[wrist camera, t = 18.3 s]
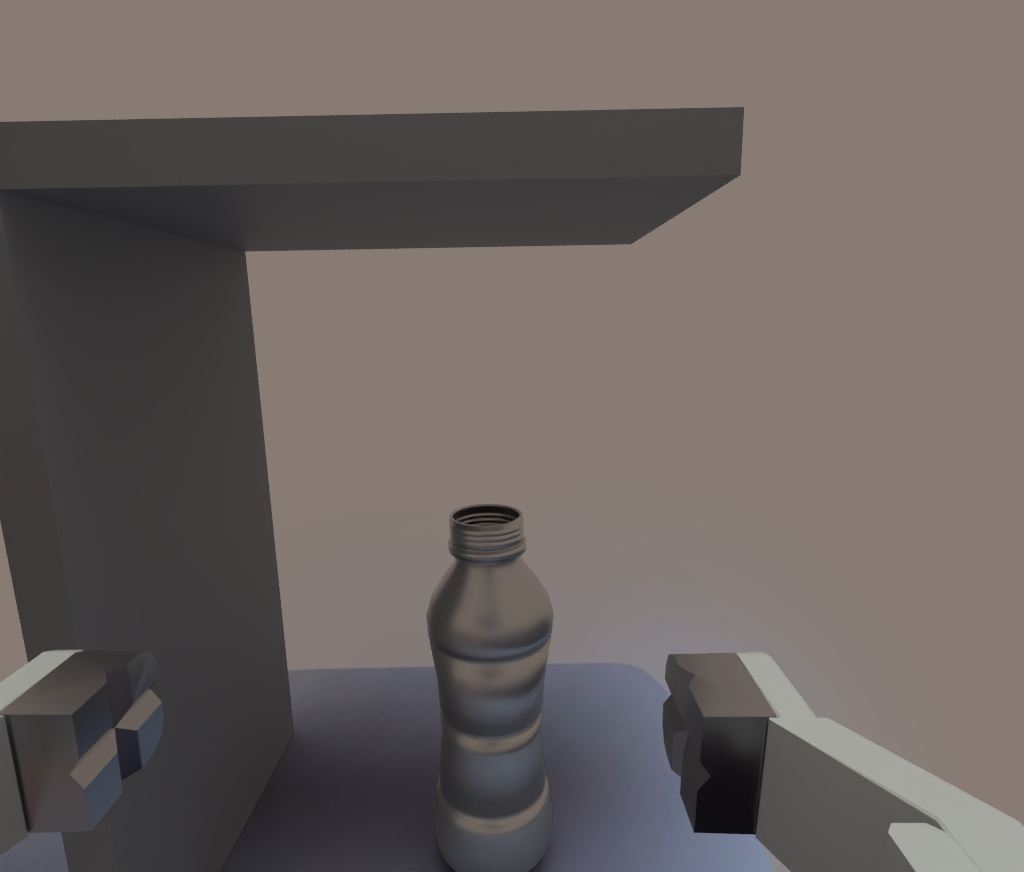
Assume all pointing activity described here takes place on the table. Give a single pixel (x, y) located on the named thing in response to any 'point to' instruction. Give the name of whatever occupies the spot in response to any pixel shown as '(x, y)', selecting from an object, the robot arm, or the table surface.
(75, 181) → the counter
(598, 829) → the table surface
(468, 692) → the plastic bottle
